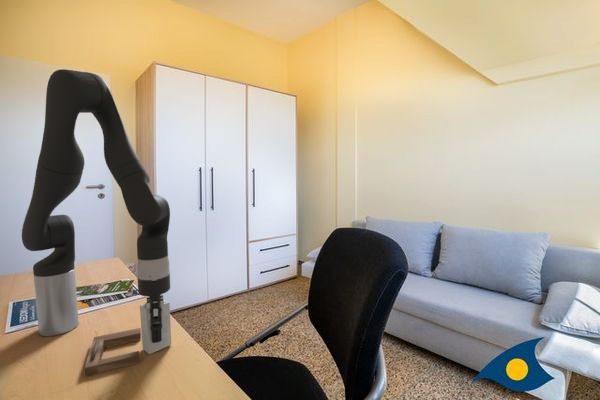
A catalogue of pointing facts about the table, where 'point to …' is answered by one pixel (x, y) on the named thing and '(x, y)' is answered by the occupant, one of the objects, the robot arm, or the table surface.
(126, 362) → the wooden u-shaped block
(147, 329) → the skincare box
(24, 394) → the table surface
